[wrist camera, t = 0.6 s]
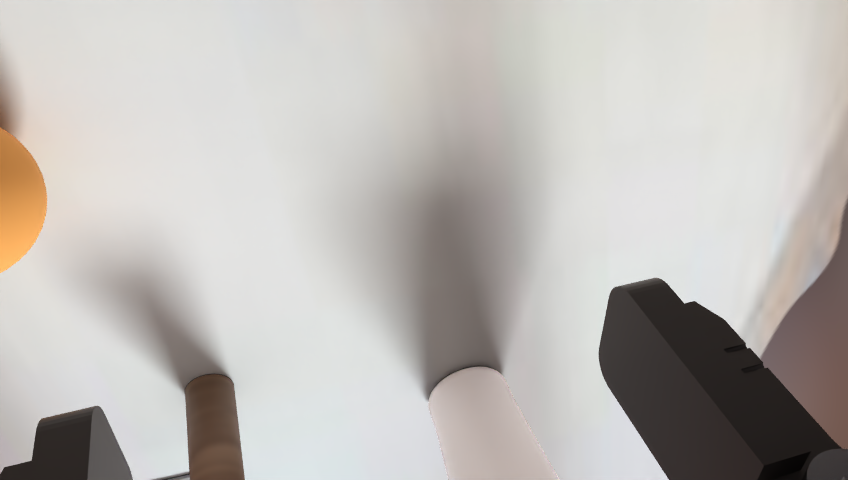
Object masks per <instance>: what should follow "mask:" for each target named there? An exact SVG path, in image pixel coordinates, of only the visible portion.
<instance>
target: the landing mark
mask: <svg viewBox="0 0 848 480" xmlns="http://www.w3.org/2000/svg"><path fill="white" fill-rule="evenodd" d="M167 480H190V475H185V476H180V477H176V478H171V479H167Z"/></svg>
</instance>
